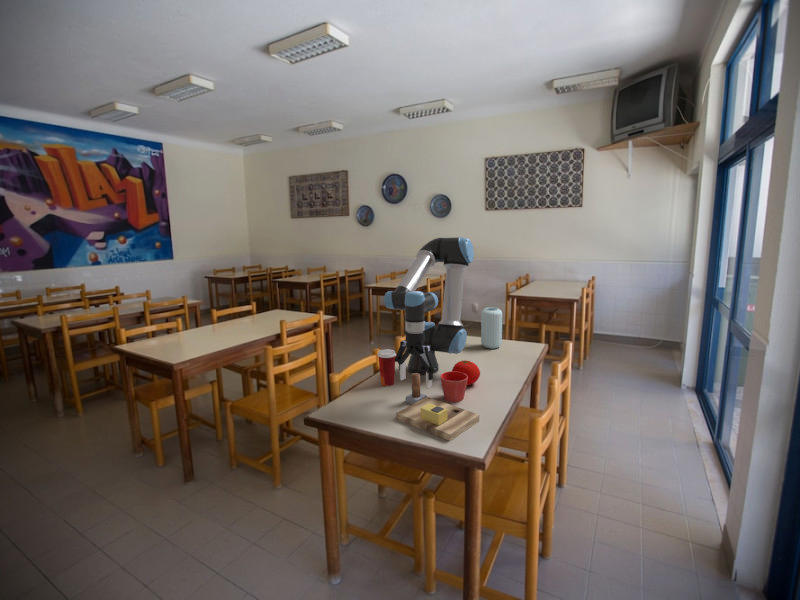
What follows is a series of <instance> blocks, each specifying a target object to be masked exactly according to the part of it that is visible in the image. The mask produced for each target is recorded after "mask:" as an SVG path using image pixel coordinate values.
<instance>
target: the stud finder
mask: <svg viewBox="0 0 800 600" xmlns="http://www.w3.org/2000/svg"><path fill="white" fill-rule="evenodd" d="M421 419H424V420H426V421H429V422H431V423H434V424H436V425H440V424H442V423H444V422H445V421H447V420H448V417H447V409H445V408H442V407H439V406H436V405H434V404H431V403H429V404H427V405H425V406H423V407H421Z"/></svg>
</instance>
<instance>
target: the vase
mask: <svg viewBox="0 0 800 600" xmlns="http://www.w3.org/2000/svg"><path fill="white" fill-rule="evenodd" d="M480 319H481V323H480V324H481V325H480V326H481V327H480V328H481V330H480V331H481V332H480V342H481V344H482V346H483V347H484V348H487V349H489V350H490V349H491V350H492V349H498V348H499V347H501V346H502V344H503V343H502V342H503V341H502V340H503V339H502V338H503V311H502V310H501V309H500V308H499V307H491V306H490V307H485V308H483V309H482V310H481V316H480Z"/></svg>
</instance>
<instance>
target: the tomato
mask: <svg viewBox="0 0 800 600" xmlns="http://www.w3.org/2000/svg"><path fill="white" fill-rule="evenodd" d="M451 369H452V370H451V371H457V372H462V373H464V374H466V375H467V376H468V380H467V385H466V386H470V385H473V384H475V383H476V382H477V381H478V380H479V378H480V376H481V370H480V368H479V366H478V364H476V362H475V363H474V362H473V361H471V360H463V359H461V361H458V362H456V363H455V364H454V365H453V367H452V368H451Z"/></svg>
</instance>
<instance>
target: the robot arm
mask: <svg viewBox="0 0 800 600" xmlns="http://www.w3.org/2000/svg"><path fill="white" fill-rule="evenodd" d="M474 256H475V252H474V246H473V242H472V240H471V239H469V238H468V237H460V236H459V237H437V238H436V237H435V238H434V239H432V240H430V241H428V242H427V243H425V244H424V245H423V246H422V247H421V248H420V249H419V250H418V252H417V253H416V258H415V260H414V262H413V263H412V264H411V266H410V267H409V269H408V270H407V271H406V273H405V275H404V277H402V279H401V280H400V283H399V284H398V285H397V287H396V288H395V290H390V291H389V290H388V291H387V292H385V294H384V297H383V302H384V303H383V304H384V307H386V308H387V309H392V310H398V311H404V315H405V316H404V319H405V320H404V321H405V322H404V323H405V324H404V325H405V327H404V329H405V334H404V335H405V336H404V337H405V339H404V340H400V343H399V347H398V350H397V353H396V356H395V363H397V364H398V371H399V380H400V381H403V380H405V379H407V378H406V377H407V376H406V375H407V371H408V372H409V373H410V374H413V373H419V374H420V376H421V375H422V376H423V375H425V389H429V388H433V387H432V386H433V380H434V374H436V373H437V372H438V371H439V370H440V369H439V368H440V366H439V362H438V360H437V357H436V353H435V352H440V353H447V354H450V355H451V354H455V355H457V354H461V352H462V351H463V350H464V348H465V346H466V343H467V336H468V335H467V333H468V332H467V331H466V329H465V328H464V324H463V323H462V321H461V319H462V318H461V317H462V316H461V315H462V306H463V294H464V293H463V292H464V283H465V282H464V281H465V272H466V270H467V269H468V268H469V264H471V263H473V261H474ZM436 263H443V267H444V268H445V270H446V271H445V281H444V282H445V283H444V292H443V303H442V304H443V305H442V313H441V314H442V315H441V320H440V321H439V322H437V323H438V324H437V325H438V326H436V324H435V322H433V321H425V314H426V313H428V312H432V311H434V309H436V308H437V306H438V303H439V299H438V296H437V295H436V293H434V292H432V291H429V292H428V291H427V292H423V291H419V290H417V289H418V287H419V285H420V284H421V282H422V280H423V279H424V277H425V276H426V275H427V273H428V271H429V269H430V268H432V267H433V266H434V265H435V264H436ZM416 290H417V291H416ZM406 348H407V349H406ZM407 358H409V360H408V363H407V365H406V361H407ZM406 367H407V369H406ZM406 370H407V371H406Z"/></svg>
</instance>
